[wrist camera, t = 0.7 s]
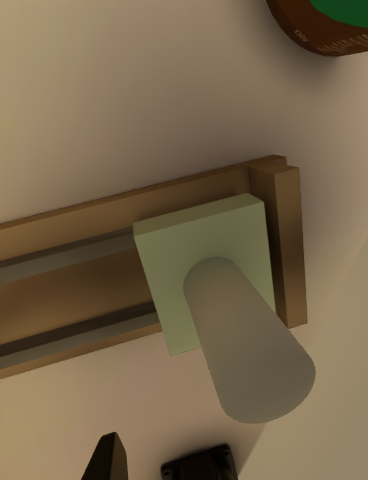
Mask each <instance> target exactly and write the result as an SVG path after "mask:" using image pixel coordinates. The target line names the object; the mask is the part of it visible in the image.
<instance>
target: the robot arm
mask: <svg viewBox="0 0 368 480" xmlns="http://www.w3.org/2000/svg"><path fill="white" fill-rule="evenodd" d="M161 476H162V478H163V480H238V478H237V474H236V470H235V466H234V461H233V457H232V453H231V450H230V447H229V446H228V445H224V446H221V447H218V448H215V449H212V450H209V451H206V452H203V453H200V454H197V455H194V456H191V457H188V458H185V459H182V460H179V461H176V462H173V463H171V464H168V465H165V466H163V467H162V468H161ZM81 480H128V470H127V457H126V451H125V448H124V446H123V444H122V442H121V440H120V438H119V436H118V434H117V433H116V432H112V433H109V434H106V435H103V436H102V437H101V438H100V440H99V442H98V444H97V446H96V449H95V451H94V453H93V455H92V457H91V459H90V461H89V464H88V466H87V468H86V470H85V472H84V474H83V477H82V479H81Z"/></svg>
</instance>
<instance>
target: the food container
mask: <svg viewBox="0 0 368 480" xmlns="http://www.w3.org/2000/svg"><path fill="white" fill-rule="evenodd" d="M266 1H267V4H268V6H269V8H270V10H271V13H272V15H273V16H274V18H275V19H276V21H277V23H278V24H279V26H280V27H281V28H282V30H283V31H284V32H285V33H286V34H287V35H288V36H289V37H290V38H291V39H292V40H293V41H295V42H296V43H297V44H298V45H300V46H301V47H303V48H305V49H307V50H309V51H311V52H313V53H317V54H320V55H324V56H344V55H350V54H355V53H361V52H367V51H368V0H266Z"/></svg>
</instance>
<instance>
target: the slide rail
mask: <svg viewBox="0 0 368 480" xmlns="http://www.w3.org/2000/svg"><path fill="white" fill-rule="evenodd" d="M244 193H248V194H250V195H252V196H254V197H256V198H258V199H260V200H261V201H263V202H264V208H265V218H266V227H267V236H268V245H269V254H270V264H271V273H272V282H273V291H274V301H275V310H276V314H277V316H278V317H279V318H280V319H281V321H282V322H283V323H284V324H285V326H286V327H287V328H288V329H290V328H293V327H297V326H300V325H303V324H306V323H308V322H307V304H306V286H305V268H304V250H303V232H302V214H301V196H300V177H299V168H297V167H293V166H288V165H287V162H286V157H283V156H278V155H271V156H267V157H263V158H259V159H255V160H251V161H247V162H243V163H239V164H235V165H231V166H227V167H224V168H220V169H216V170H212V171H208V172H204V173H200V174H196V175H192V176H188V177H184V178H180V179H176V180H172V181H168V182H164V183H160V184H156V185H152V186H149V187H145V188H141V189H137V190H133V191H129V192H125V193H121V194H117V195H113V196H109V197H105V198H101V199H97V200H93V201H89V202H85V203H81V204H77V205H74V206H70V207H66V208H62V209H58V210H54V211H50V212H46V213H42V214H38V215H34V216H30V217H26V218H22V219H18V220H14V221H10V222H6V223H3V224H0V379H3V378H6V377H10V376H13V375H16V374H20V373H23V372H26V371H30V370H33V369H36V368H40V367H43V366H47V365H50V364H53V363H57V362H60V361H63V360H67V359H70V358H73V357H77V356H80V355H83V354H87V353H90V352H94V351H97V350H100V349H104V348H107V347H110V346H114V345H117V344H120V343H124V342H127V341H131V340H134V339H137V338H141V337H144V336H147V335H151V334H154V333H157V332H161V331H163V330H162V327H161V323H160V320H159V317H158V314H157V310H156V307H155V304H154V301H153V298H152V294H151V291H150V288H149V285H148V281H147V278H146V275H145V272H144V268H143V265H142V262H141V259H140V256H139V252H138V249H137V246H136V243H135V239H134V234H133V223H134V222H138V221H142V220H145V219H149V218H153V217H157V216H161V215H164V214H168V213H172V212H176V211H180V210H183V209H187V208H191V207H195V206H199V205H202V204H206V203H210V202H214V201H218V200H221V199H225V198H229V197H233V196H237V195H241V194H244Z"/></svg>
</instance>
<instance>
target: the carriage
mask: <svg viewBox="0 0 368 480" xmlns="http://www.w3.org/2000/svg"><path fill="white" fill-rule="evenodd" d="M133 234H134V239H135V243H136V246H137V249H138V252H139V256H140V259H141V262H142V265H143V268H144V272H145V275H146V278H147V281H148V285H149V288H150V291H151V294H152V298H153V301H154V304H155V307H156V310H157V314H158V317H159V320H160V323H161V327H162V330H163V333H164V336H165V339H166V343H167V346H168V349H169V352H170V356H173V355H177V354H180V353H183V352H186V351H190V350H193V349H196V348H199V347H202V349H203V352H204V355H205V358H206V361H207V364H208V367H209V370H210V373H211V376H212V379H213V382H214V385H215V388H216V391H217V394H218V397H219V400H220V403H221V406H222V408H223V410H224V411H225V413H226V414H227V415H228V416H230V417H231V418H233V419H234V420H237V421H239V422H244V423H263V422H268V421H272V420H274V419H277V418H279V417H282V416H284V415H285V414H287V413H289V412H290V411H292V410H293V409H295V408H296V407H297V406H298V405H299V404H300V403H301V402H302V401H303V400H304V399H305V398H306V397H307V395H308V394H309V392H310V391H311V389H312V386H313V383H314V380H315V366H314V363H313V361H312V359H311V358H310V356H309V355H308V354H307V353H306V351H305V350H304V349H303V348H302V346H301V345H300V344H299V343H298V341H297V340H296V339H295V338H294V336H293V335H292V334H291V332H290V331H289V330H288V329H287V327H286V326H285V325H284V324H283V322H282V321H281V320H280V319H279V317H278V316H277V315H276V310H275V301H274V291H273V282H272V273H271V264H270V254H269V245H268V236H267V227H266V218H265V208H264V202H263V201H261V200H260V199H258V198H256V197H254V196H252V195H250V194H248V193H244V194H241V195H237V196H233V197H229V198H225V199H221V200H218V201H214V202H210V203H206V204H202V205H199V206H195V207H191V208H187V209H183V210H180V211H176V212H172V213H168V214H164V215H161V216H157V217H153V218H149V219H145V220H142V221H138V222H134V223H133Z"/></svg>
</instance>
